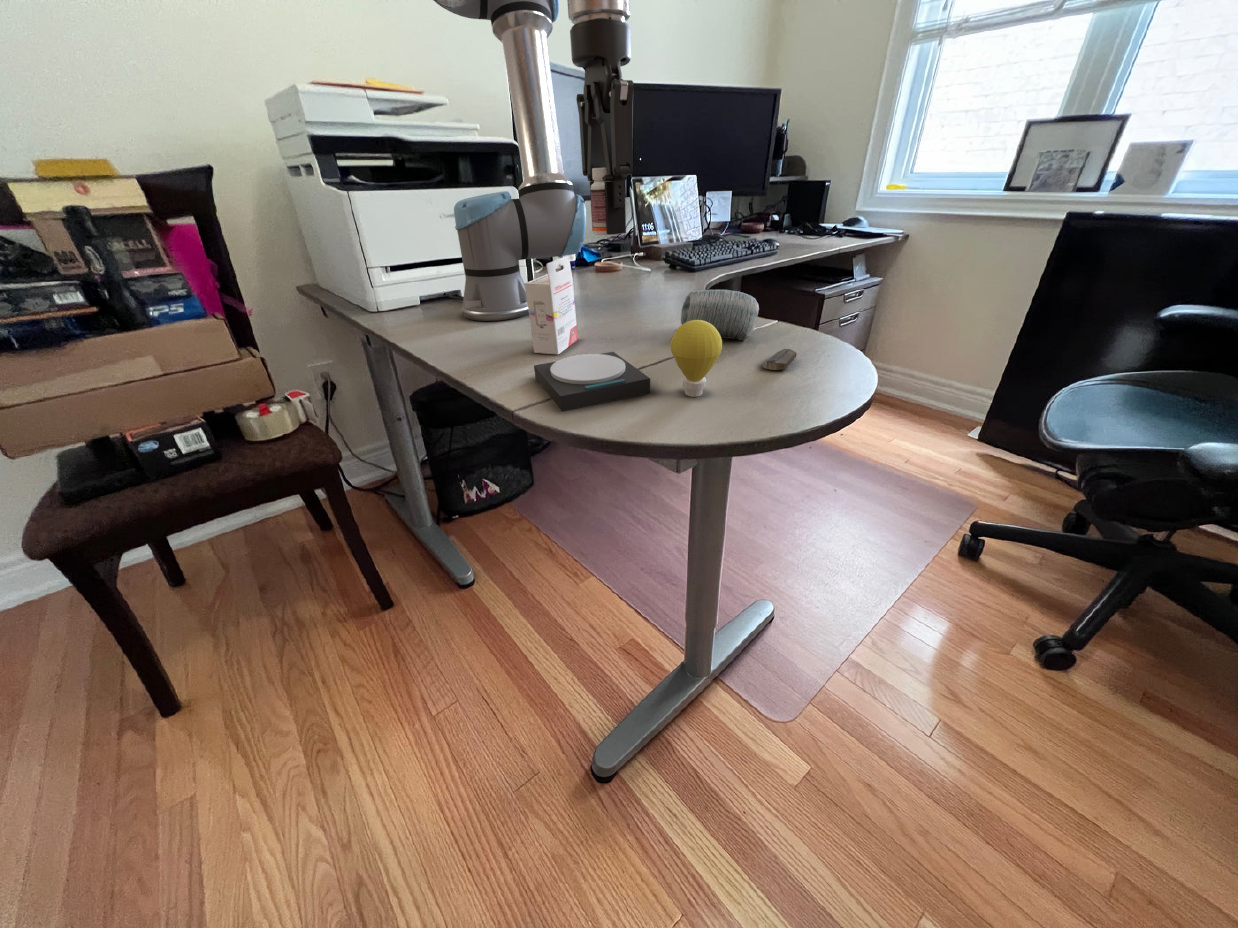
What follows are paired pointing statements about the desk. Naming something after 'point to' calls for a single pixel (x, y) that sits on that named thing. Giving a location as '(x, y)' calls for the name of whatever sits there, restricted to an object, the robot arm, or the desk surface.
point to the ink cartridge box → (552, 309)
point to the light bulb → (695, 353)
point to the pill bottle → (598, 202)
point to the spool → (722, 311)
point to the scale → (590, 380)
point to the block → (780, 360)
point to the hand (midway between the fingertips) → (608, 231)
